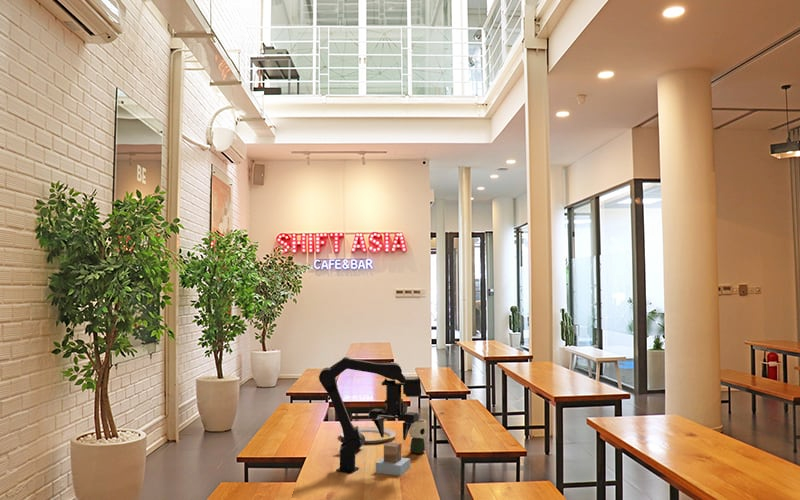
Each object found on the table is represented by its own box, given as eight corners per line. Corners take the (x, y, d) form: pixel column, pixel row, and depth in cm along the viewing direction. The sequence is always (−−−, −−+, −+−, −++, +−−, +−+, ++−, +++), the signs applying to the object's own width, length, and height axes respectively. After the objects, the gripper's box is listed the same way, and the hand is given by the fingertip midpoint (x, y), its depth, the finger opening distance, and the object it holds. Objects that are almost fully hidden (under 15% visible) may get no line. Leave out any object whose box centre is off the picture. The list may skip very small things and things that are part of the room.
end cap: (356, 455, 253) (356, 438, 253) (340, 453, 255) (340, 436, 255) (365, 448, 262) (365, 432, 262) (349, 447, 264) (349, 431, 265)
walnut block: (395, 463, 230) (396, 446, 230) (383, 461, 232) (383, 445, 232) (401, 459, 235) (401, 443, 235) (389, 457, 237) (389, 441, 237)
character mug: (420, 457, 251) (420, 424, 251) (404, 454, 254) (404, 422, 254) (430, 450, 260) (430, 419, 261) (415, 448, 263) (415, 417, 264)
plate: (330, 442, 273) (330, 437, 273) (352, 429, 297) (352, 424, 297) (385, 447, 265) (385, 442, 266) (402, 433, 290) (403, 429, 290)
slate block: (400, 477, 226) (400, 465, 227) (375, 473, 230) (375, 462, 230) (410, 469, 236) (410, 458, 236) (385, 466, 239) (385, 455, 240)
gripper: (424, 395, 238) (424, 436, 237) (381, 391, 246) (380, 431, 245) (413, 400, 228) (412, 443, 227) (368, 396, 235) (367, 437, 235)
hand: (393, 438), depth 234 cm, fingers open, 9 cm apart
